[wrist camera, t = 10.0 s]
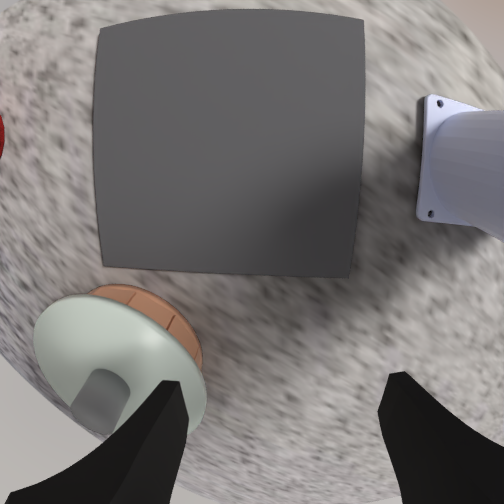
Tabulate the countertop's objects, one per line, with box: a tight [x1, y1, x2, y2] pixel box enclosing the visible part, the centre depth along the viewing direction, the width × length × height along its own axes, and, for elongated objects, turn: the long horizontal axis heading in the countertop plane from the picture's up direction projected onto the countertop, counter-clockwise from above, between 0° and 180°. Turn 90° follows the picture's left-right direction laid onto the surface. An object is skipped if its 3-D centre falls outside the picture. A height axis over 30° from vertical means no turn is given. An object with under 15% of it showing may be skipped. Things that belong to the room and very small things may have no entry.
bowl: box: [87, 284, 203, 373], centre depth 20 cm, size 11×11×4 cm
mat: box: [93, 9, 365, 278], centre depth 16 cm, size 16×16×1 cm
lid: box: [33, 294, 207, 435], centre depth 16 cm, size 13×13×4 cm
